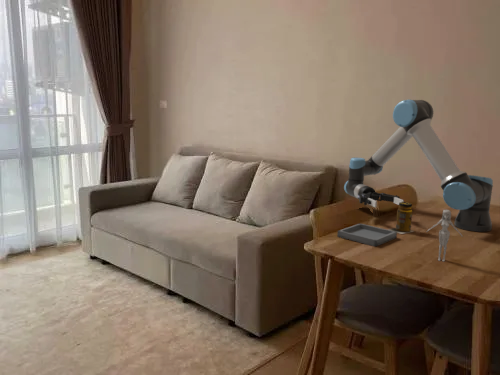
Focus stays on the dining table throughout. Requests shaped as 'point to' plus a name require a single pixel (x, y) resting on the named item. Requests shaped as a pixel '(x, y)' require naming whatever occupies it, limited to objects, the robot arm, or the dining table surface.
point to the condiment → (403, 218)
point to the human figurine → (444, 231)
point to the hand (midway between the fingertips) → (389, 203)
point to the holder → (367, 234)
